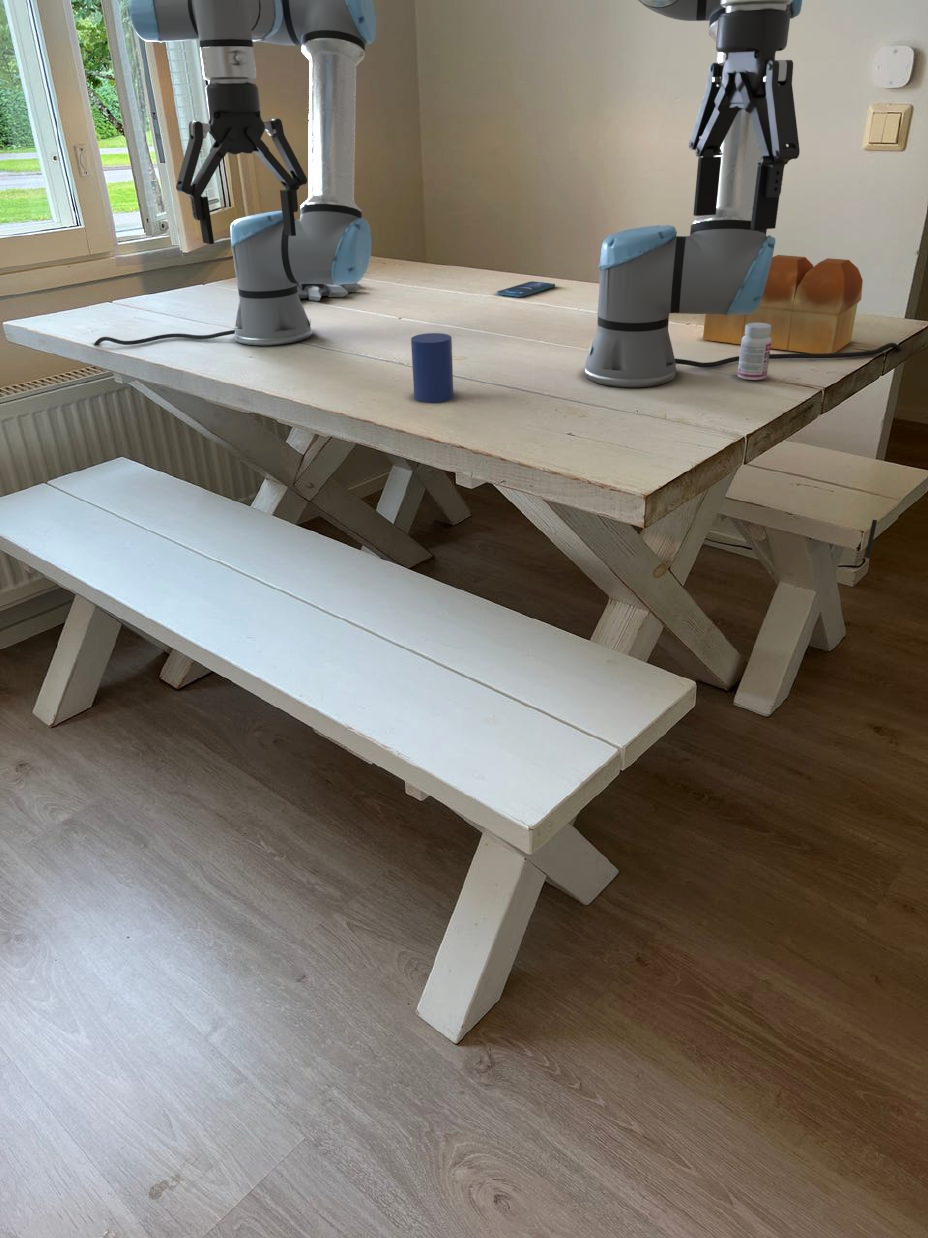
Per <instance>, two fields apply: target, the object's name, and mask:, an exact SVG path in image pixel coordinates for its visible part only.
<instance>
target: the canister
mask: <svg viewBox="0 0 928 1238" xmlns="http://www.w3.org/2000/svg"><path fill="white" fill-rule="evenodd" d="M410 345H411V363H412V364H411V365H412V382H413V383H412V385H413V398H414V400H416V401H418V402H421V403H427V404H428V403H432V404H434V403H435V404H436V403H443V402H447V401H450V400H452V399H453V398H454V371H453V369H454V367H453V339H452V336H451V335H449V334H448V333H441V332H428V333H420V334H415V335H414V336H412V337H410Z"/></svg>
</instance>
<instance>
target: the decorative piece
mask: <svg viewBox="0 0 928 1238" xmlns="http://www.w3.org/2000/svg"><path fill="white" fill-rule="evenodd" d="M361 288H363V286H362V285H361V284H359V283H358V282H357V283H353V284H341V285H335V284H297V289H298V296H299V299H300V300H302V299H308V300H309V301H314V302H315V301H316V302H319V301H320V300H321V298H322V297H328V298H344V297H345V296H347V295H348V294H349V293H353V292H354V293H355V292H357V291H358V290H359V289H361Z"/></svg>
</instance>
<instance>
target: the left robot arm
mask: <svg viewBox="0 0 928 1238" xmlns="http://www.w3.org/2000/svg"><path fill="white" fill-rule="evenodd" d="M127 8H128V14H129V19H130V22H131V25H132V28H133V29H134V31H135V33H136V34H137V36H138V37H139V38H140V39H141V40H143V41H145V42H153V43H155V42H159V43H166V42H167V43H168V42H169V43H170V42H185V41H187V42H188V41H198V42H199V43H198V45H199V51H200V59H201V60H200V61H201V67H202V75H203V79H204V80H205V81H208V84H206V87H205V88H204V89H205V90H204V91H205V96H206V105H207V111H208V112H207V113H208V115H209V118H208V119H209V120H208V123H206V122H201V121H199V120H191V121H189V123H188V141H187V144H186V145H187V147H186V149H185V153H184V157H183V160H182V164H181V166H180V171H179V174H178V178H177V181H176V185H175V190H176V191H177V192H179V193H182V194H185V195H188V197H189V198H190V205H191V210H192V217H193V219H194V220H195V221H199V224H200V230H201V239H202V243H203V244H207V245H215V239H214V233H213V232H214V231H213V225H212V224H213V223H212V218H211V211H210V203H209V197H208V196H205V195H203V194H204V192H205V189H206V188H207V187H208V184H209V183H210V181H211V179H212V178H213V176H214V174H215V172H216V171H217V169H218V167H219V165H220V164H221V162H222V160H223V159H224V158H225V157H226V156H227V155H240V154H254V155H256V156H257V157H258V158H259V159H260V161H261V162H262V163H263V165H265V166H266V168H267V169H268V170H269V171H270V172H271V174H272V175H273V176H274V177H275V178H276V179H277V180H278V181H279V183H280V184H281V185H282V186H283V187H284V188H285V189H279V196H280V197H279V198H280V204H281V205H280V206H281V210H275V211H269V212H262V213H257V214H253V215H247V216H243V217H240V218H237V219H234V220H233V222H231V224H230V228H229V234H230V248H231V252H232V259H233V265H234V266H233V267H234V273H235V278H236V279H235V280H236V285H237V293H238V307H237V312H236V318H235V319H236V320H235V323H234V329H230V330H226V331H220V332H216V333H212V334H190V333H180V332H179V333H178V332H177V333H165V334H158V335H154V336H150V337H145V338H141V339H140V338H139V339H136V340H135V339H132V340H121V339H117V338H114V337H111V336H101V337H99V338H98V339H96V340H95V342H94V343H93V346H99V345H100V344H101V343H102V342H111V343H113V344H117V345H121V346H134V345H140V344H145V343H150V342H154V341H159V340H163V339H172V338H173V339H174V338H183V339H191V340H210V339H215V338H220V337H225V336H230V335H234V337H235V341H236V342H238V343H240V344H243V345H248V346H279V345H286V344H287V345H288V344H292V343H293V344H294V343H297V342H301V341H305V340H306V339H308V338H310V337H311V336H312V327H311V325H312V320H311V318H308V315H307V313H306V310H305V308H304V306H303V303H302V301H301V299H299V296H298V289H297V284H335V285H341V284H353V283H357V284H358V283H359V282H360V281H361V280H362V279H363V278H364V277H365V275H366V273H367V271H368V268H369V265H370V262H371V255H372V245H373V239H372V230H371V229H372V228H371V225H370V223H369V222H368V220H366V219H365V218H363V217H362V215H363V211H362V209H361V208H360V207H359V206H358V204H356V201H355V169H356V168H355V165H356V163H355V160H356V110H357V109H356V108H357V107H356V105H357V104H356V103H357V102H356V101H357V66H358V65H359V64H360V63H361V62H362V61H364V60H365V56H366V45H371V44H372V43H374V42H375V41H376V36H377V21H376V20H377V19H376V13H375V5H374V1H373V0H127ZM255 42H261V43H267V44H273V45H274V44H275V45H281V46H295V47H296V46H297V47H298V46H301V53H302V54H303V55H304V56H305V57H306V59H307V60H308V61H309V89H308V90H309V91H308V93H309V94H308V95H309V99H308V100H309V101H308V102H309V103H308V104H309V105H308V106H309V107H308V109H309V111H308V112H309V113H308V120H309V121H308V177H307V175H306V174H305V172H304V169H303V168H302V166H301V164H300V162H299V160H298V158H297V156H296V155H295V153H294V150H293V149H292V147H291V144H290V143H289V141H288V139H287V137H286V135H285V131H284V127H283V122H282V120H281V119H280V118H269V119H268V120H263V119H262V116H261V104H260V94H259V86H258V85H257V84H256V83H254V80H256V79H257V68H256V59H255V49H254V43H255ZM265 132H266V133H267V135H268V136H269V137H271V140H272V142H273V144H274V146H275V148H276V150H277V151H278V154H279V155H280V158H281V159H282V161H283V163H284V165H285V167H286V169H287V170H288V171H287V170H286V169H285V167H284V166H283V165H282V164H281V162H280V161H279V160H278V159H277V158H276V157H275V155H274V154H273V153H272V152H271V150H270V148H269V147H268V146H267V144H266V143H265V142H264V141H263V140H262V137H263V135H264V133H265ZM208 134H209V135H210V136H211V137H212V138H213V140H214V142H213V144H212V145H211V147H210V148H209V153H208V155H207V156H206V158H205V160H204V162H202V165H201V166H200V168H199V170H198V172H197V174H196V176H195V173H196V169H197V165H198V162H199V158H200V154H201V152H202V151H201V150H202V147H203V143H204V139H206V138H207V135H208ZM194 176H195V177H194ZM306 184H308V197H307V199H306V200H305V201H304V202H303V203H302V204H301V205H300V208H299V202H298V190H299V189H300V187H301V186H303V185H306ZM298 211H300V215H299V218H295V213H298Z"/></svg>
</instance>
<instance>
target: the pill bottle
mask: <svg viewBox="0 0 928 1238" xmlns="http://www.w3.org/2000/svg"><path fill="white" fill-rule="evenodd" d="M770 333H771V325H770V324H766V323H748V324H746V327H745V334H746V335H745V336H744V337H743V338H742V341H741V344H740V348H739V349H740V350H739V356H740V357H739V361H738V367H737V377H738V378H740V379H742V380H748V381H759V380H764V379H766V378H767V377H768V376H767V375H768V369H769V362H770V359H769V356H770V354H771V349H772V348H771V338H770V337H769V335H770Z"/></svg>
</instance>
